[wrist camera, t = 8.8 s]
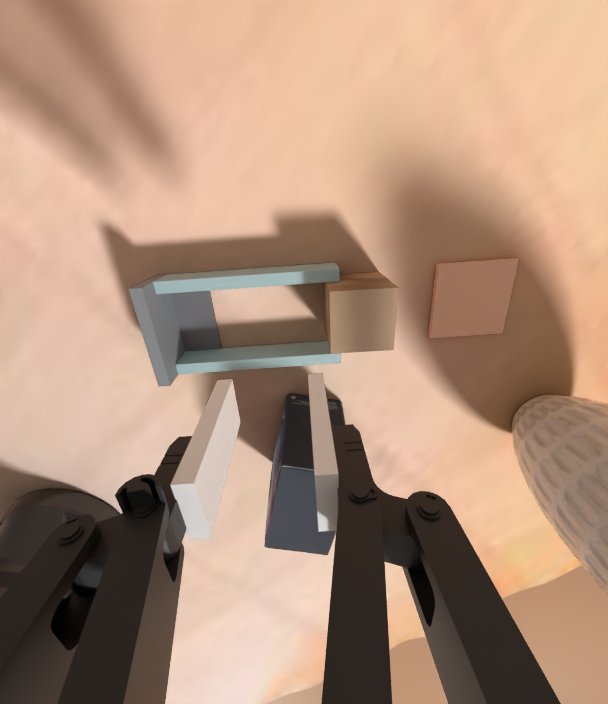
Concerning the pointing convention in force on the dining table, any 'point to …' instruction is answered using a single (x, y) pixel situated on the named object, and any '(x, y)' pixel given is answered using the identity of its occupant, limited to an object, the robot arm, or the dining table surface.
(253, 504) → the dining table surface
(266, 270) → the channel
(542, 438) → the vase
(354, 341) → the block
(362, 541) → the robot arm
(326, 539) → the small box
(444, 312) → the tile
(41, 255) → the dining table surface
